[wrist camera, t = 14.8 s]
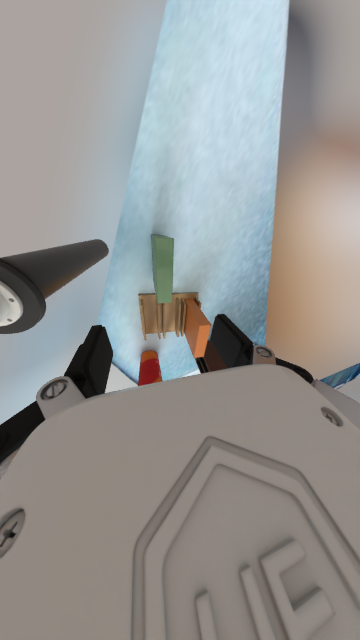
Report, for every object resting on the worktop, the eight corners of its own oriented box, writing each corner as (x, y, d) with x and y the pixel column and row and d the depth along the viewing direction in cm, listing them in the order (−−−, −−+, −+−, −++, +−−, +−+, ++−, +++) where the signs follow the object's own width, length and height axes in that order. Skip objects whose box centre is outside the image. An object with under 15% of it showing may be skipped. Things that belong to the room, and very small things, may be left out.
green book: (153, 280, 34) (157, 303, 24) (151, 234, 29) (155, 237, 18) (163, 280, 35) (171, 302, 24) (163, 235, 29) (173, 238, 19)
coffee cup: (154, 365, 52) (158, 405, 40) (134, 361, 49) (131, 404, 37) (164, 350, 49) (171, 390, 37) (143, 345, 46) (143, 387, 33)
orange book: (181, 327, 43) (193, 358, 33) (184, 299, 38) (199, 325, 27) (189, 326, 44) (203, 356, 34) (193, 298, 38) (211, 324, 28)
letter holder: (196, 342, 50) (211, 375, 39) (242, 334, 54) (269, 362, 43) (194, 359, 56) (207, 392, 45) (236, 351, 60) (258, 380, 48)
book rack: (143, 332, 42) (142, 343, 38) (138, 294, 35) (137, 302, 31) (192, 327, 46) (197, 337, 42) (197, 292, 39) (203, 299, 35)
